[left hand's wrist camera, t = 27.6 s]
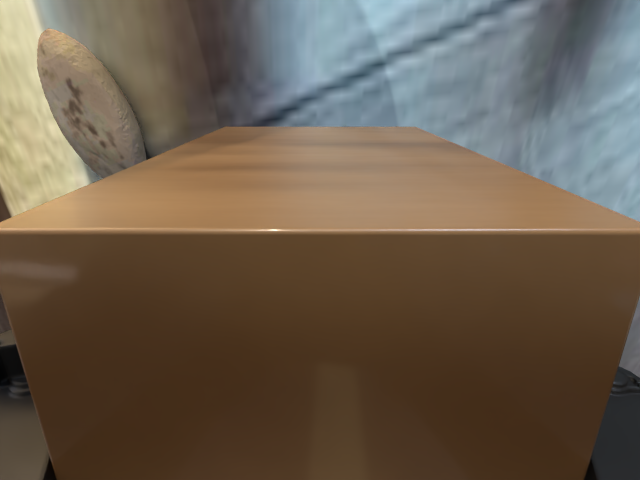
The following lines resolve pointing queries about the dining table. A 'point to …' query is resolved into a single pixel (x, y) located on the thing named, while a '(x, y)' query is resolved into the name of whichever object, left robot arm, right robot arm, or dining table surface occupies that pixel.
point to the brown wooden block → (320, 313)
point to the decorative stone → (88, 105)
